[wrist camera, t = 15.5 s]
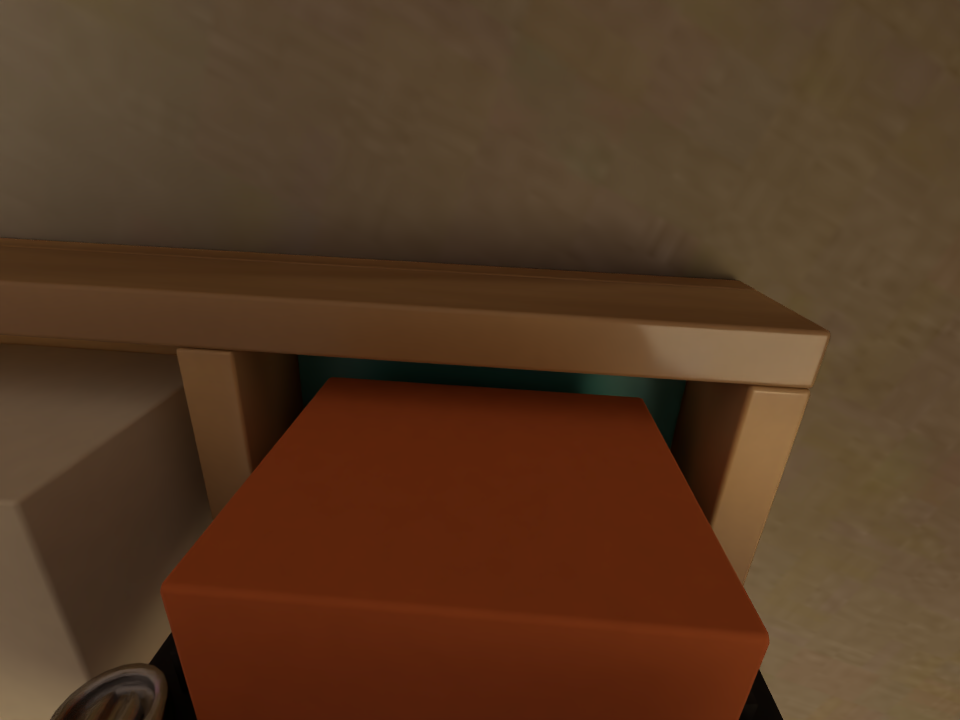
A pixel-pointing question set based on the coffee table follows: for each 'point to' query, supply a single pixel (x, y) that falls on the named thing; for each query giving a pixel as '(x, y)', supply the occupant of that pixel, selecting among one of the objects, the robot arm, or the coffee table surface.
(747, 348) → the holder
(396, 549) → the orange block
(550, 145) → the coffee table surface
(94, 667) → the beige block
